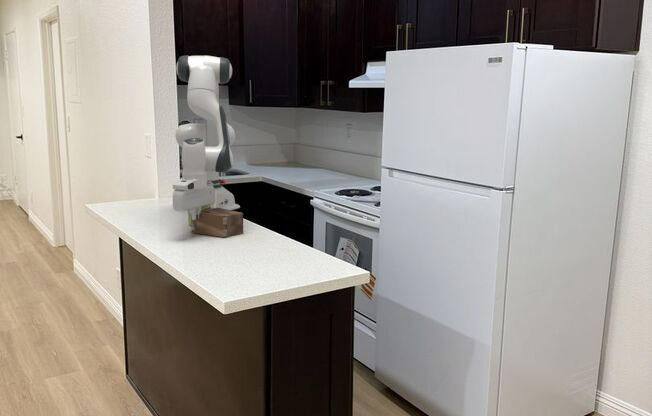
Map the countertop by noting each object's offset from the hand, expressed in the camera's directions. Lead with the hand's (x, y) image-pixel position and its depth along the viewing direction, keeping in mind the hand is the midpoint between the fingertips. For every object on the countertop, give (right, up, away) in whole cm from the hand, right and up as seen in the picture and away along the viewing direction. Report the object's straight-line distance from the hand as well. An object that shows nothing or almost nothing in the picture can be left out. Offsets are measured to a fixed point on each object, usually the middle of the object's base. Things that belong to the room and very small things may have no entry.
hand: (195, 219), depth 220 cm
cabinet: (+9, -5, +7) cm, 12 cm away
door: (+5, -6, +1) cm, 8 cm away
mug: (-3, -3, +17) cm, 18 cm away
